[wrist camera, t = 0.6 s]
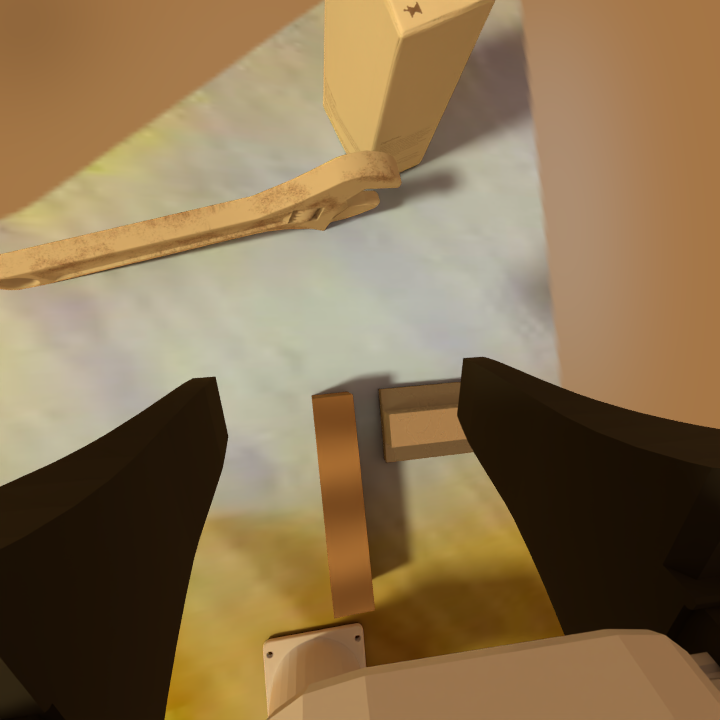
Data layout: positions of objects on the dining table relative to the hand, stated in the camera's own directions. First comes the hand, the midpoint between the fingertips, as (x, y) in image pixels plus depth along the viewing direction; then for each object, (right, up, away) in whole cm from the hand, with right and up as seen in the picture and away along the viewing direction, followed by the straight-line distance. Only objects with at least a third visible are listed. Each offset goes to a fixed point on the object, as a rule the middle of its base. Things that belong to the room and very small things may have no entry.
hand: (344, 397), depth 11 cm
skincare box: (+1, +21, +21) cm, 30 cm away
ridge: (+6, -4, +21) cm, 23 cm away
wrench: (-12, +11, +20) cm, 25 cm away
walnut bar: (-1, -10, +20) cm, 23 cm away
